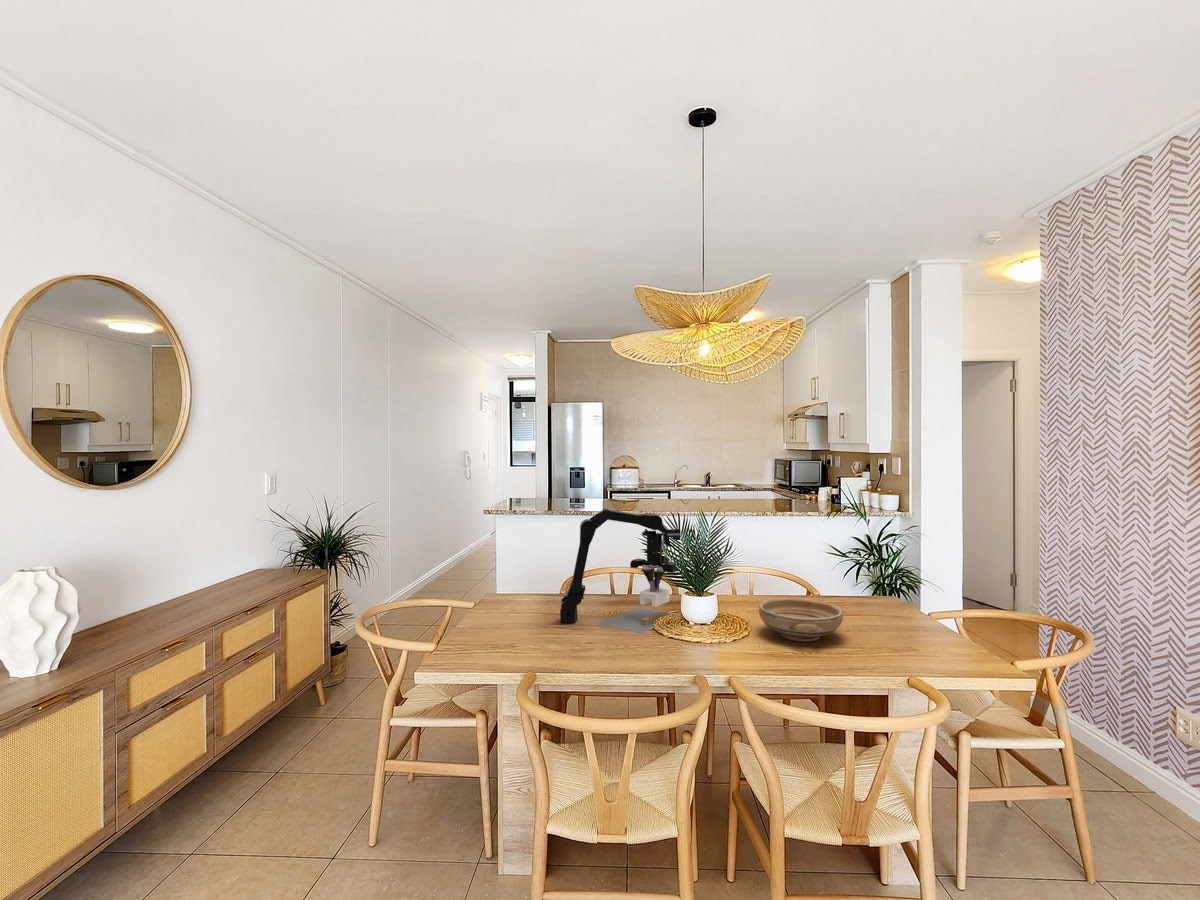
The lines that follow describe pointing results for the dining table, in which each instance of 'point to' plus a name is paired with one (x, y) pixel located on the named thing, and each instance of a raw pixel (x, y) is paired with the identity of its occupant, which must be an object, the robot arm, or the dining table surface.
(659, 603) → the cabinet block
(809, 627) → the ceramic bowl
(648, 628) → the cleat board
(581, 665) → the dining table surface
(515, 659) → the dining table surface
